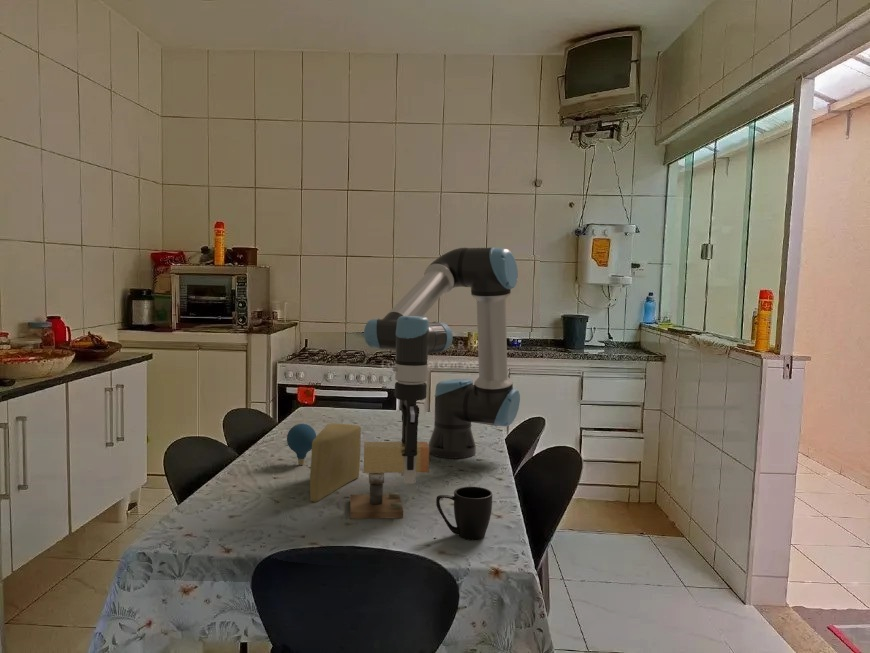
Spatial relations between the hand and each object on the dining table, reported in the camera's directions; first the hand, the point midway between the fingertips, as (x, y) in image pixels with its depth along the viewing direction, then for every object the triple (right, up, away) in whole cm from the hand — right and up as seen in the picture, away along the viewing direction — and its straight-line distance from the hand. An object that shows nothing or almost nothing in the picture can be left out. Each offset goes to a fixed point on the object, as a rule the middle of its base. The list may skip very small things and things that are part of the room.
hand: (408, 478), depth 156 cm
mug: (+12, -9, -15) cm, 21 cm away
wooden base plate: (-8, -7, 0) cm, 10 cm away
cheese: (-21, -6, +14) cm, 26 cm away
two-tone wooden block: (-3, -1, 0) cm, 3 cm away
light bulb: (-32, -4, +34) cm, 47 cm away
